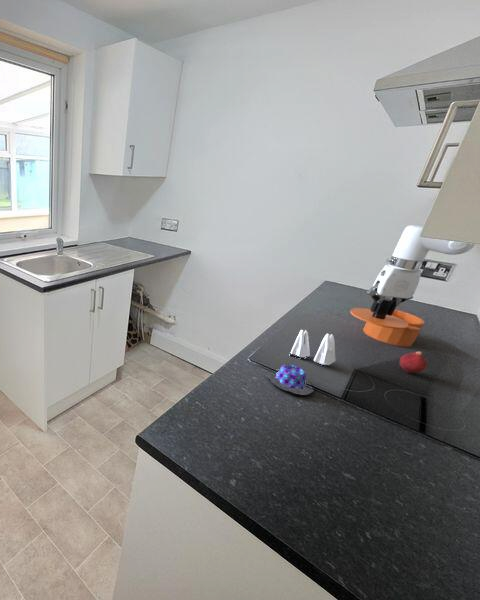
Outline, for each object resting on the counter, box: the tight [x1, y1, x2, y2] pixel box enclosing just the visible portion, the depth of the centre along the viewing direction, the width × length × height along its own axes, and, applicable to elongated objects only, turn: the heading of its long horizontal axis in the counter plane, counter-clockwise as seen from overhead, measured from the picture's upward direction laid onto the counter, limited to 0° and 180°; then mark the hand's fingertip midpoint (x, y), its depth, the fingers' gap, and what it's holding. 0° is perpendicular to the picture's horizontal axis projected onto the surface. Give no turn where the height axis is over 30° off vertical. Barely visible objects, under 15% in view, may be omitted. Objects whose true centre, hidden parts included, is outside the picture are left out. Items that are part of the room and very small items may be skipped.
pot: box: [362, 309, 426, 348], centre depth 121 cm, size 15×20×10 cm
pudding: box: [275, 363, 307, 389], centre depth 91 cm, size 12×12×5 cm
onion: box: [398, 351, 427, 374], centre depth 99 cm, size 6×6×8 cm
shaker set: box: [290, 329, 337, 366], centre depth 102 cm, size 12×4×11 cm, turn 49°
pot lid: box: [350, 297, 408, 329], centre depth 110 cm, size 16×16×8 cm
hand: (380, 312), depth 110 cm, fingers closed on pot lid, 3 cm apart
